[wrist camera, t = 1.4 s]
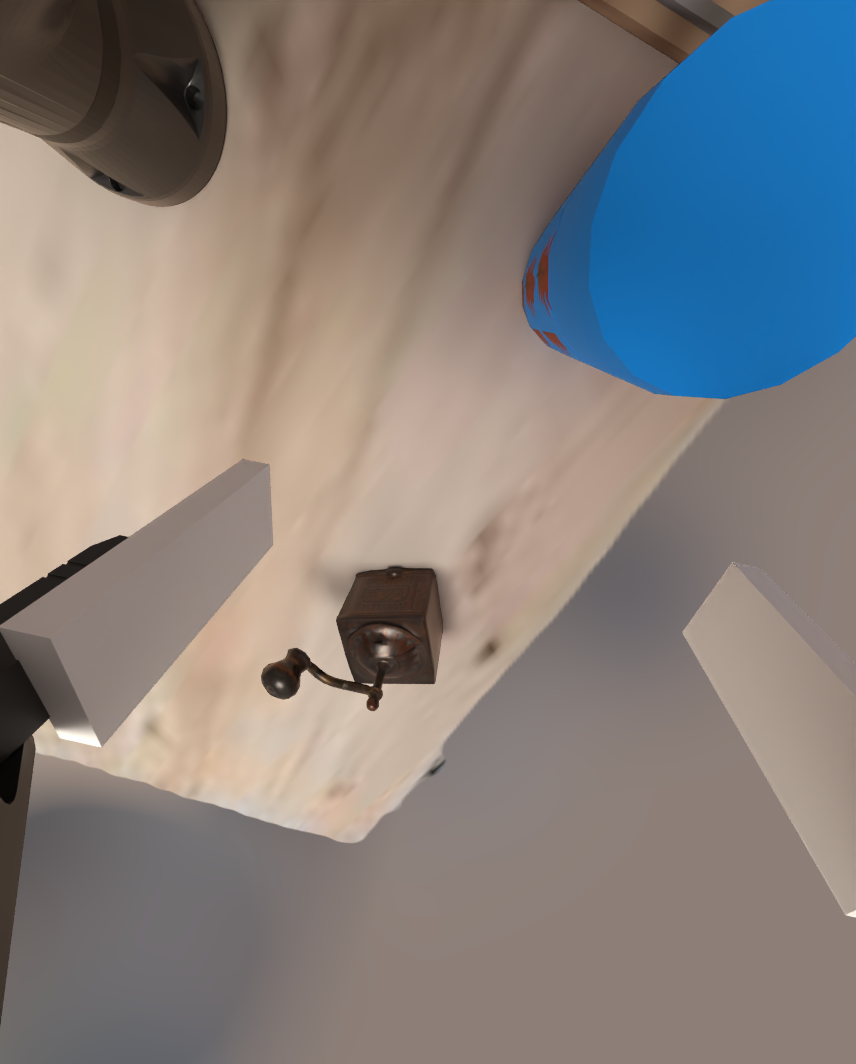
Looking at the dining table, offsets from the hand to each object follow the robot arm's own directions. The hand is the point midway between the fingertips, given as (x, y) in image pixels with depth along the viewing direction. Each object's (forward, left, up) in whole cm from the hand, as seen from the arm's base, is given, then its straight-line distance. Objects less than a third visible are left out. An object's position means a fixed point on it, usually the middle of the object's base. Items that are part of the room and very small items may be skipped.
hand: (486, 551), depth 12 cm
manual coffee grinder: (+18, -24, -32) cm, 44 cm away
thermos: (-3, +11, -32) cm, 34 cm away
